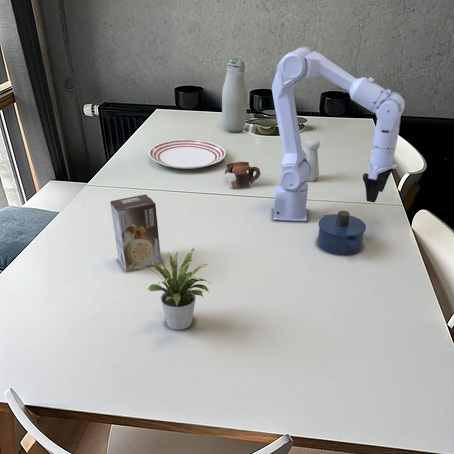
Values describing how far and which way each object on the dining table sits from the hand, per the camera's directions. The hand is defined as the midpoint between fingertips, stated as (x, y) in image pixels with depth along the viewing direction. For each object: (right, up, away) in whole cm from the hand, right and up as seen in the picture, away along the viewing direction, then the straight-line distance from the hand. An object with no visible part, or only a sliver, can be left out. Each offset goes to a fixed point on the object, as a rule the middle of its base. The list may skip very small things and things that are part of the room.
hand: (374, 196), depth 137 cm
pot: (-10, -13, -1) cm, 16 cm away
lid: (-10, -8, -4) cm, 13 cm away
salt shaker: (-12, +12, +36) cm, 40 cm away
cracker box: (-61, -18, -9) cm, 64 cm away
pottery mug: (-34, +10, +33) cm, 48 cm away
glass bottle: (-36, +41, +78) cm, 95 cm away
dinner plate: (-53, +21, +50) cm, 76 cm away
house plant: (-50, -32, -30) cm, 66 cm away
